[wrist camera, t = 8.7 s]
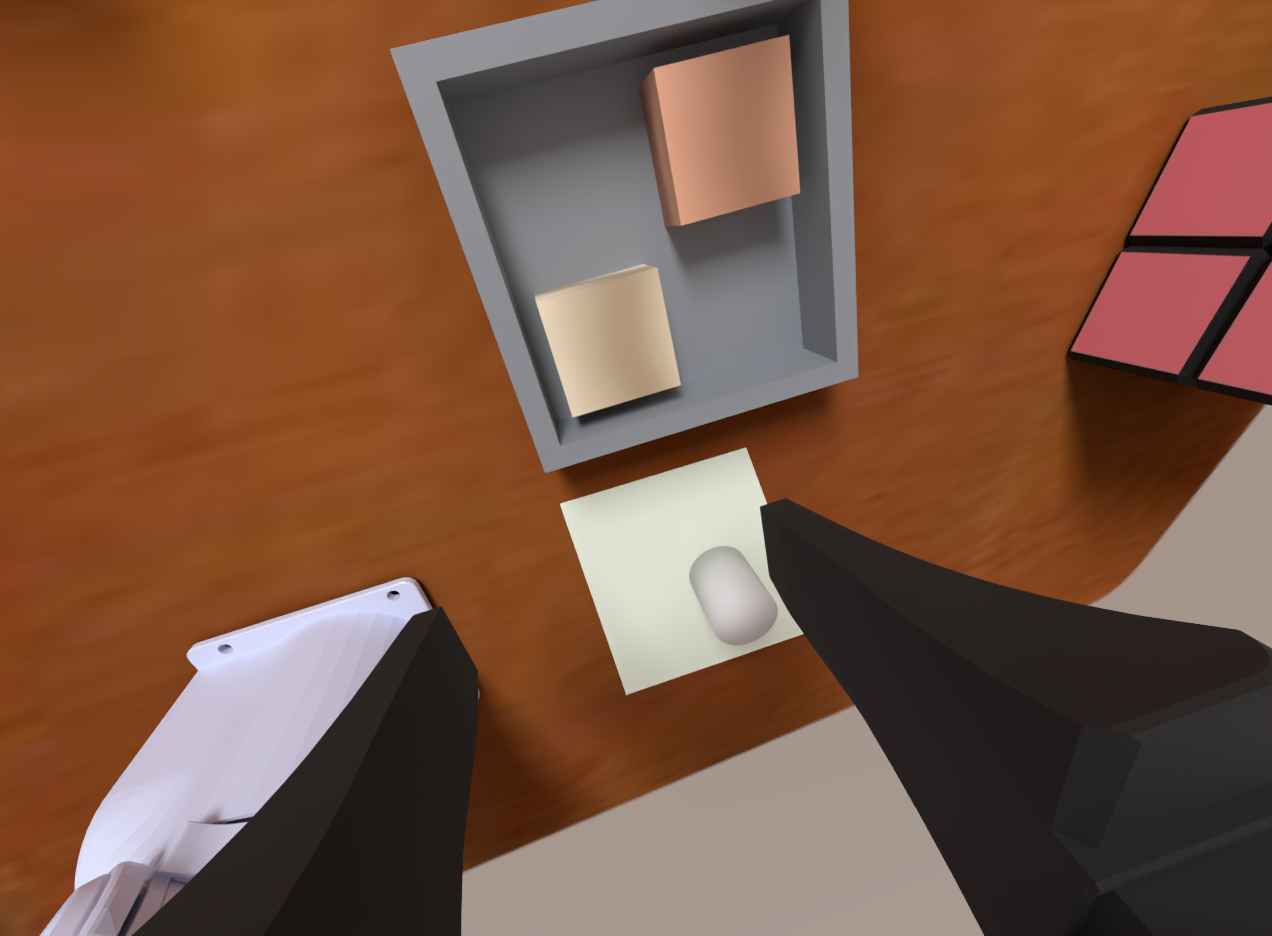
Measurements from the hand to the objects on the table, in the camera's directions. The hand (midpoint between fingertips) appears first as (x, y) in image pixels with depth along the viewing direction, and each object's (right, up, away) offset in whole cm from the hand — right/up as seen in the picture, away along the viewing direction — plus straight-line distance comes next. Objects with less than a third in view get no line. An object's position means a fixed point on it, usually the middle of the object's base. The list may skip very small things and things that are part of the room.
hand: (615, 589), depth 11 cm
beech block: (-1, +8, +7) cm, 11 cm away
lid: (+4, -2, +15) cm, 15 cm away
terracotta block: (+3, +13, +5) cm, 15 cm away
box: (+1, +11, +7) cm, 13 cm away
